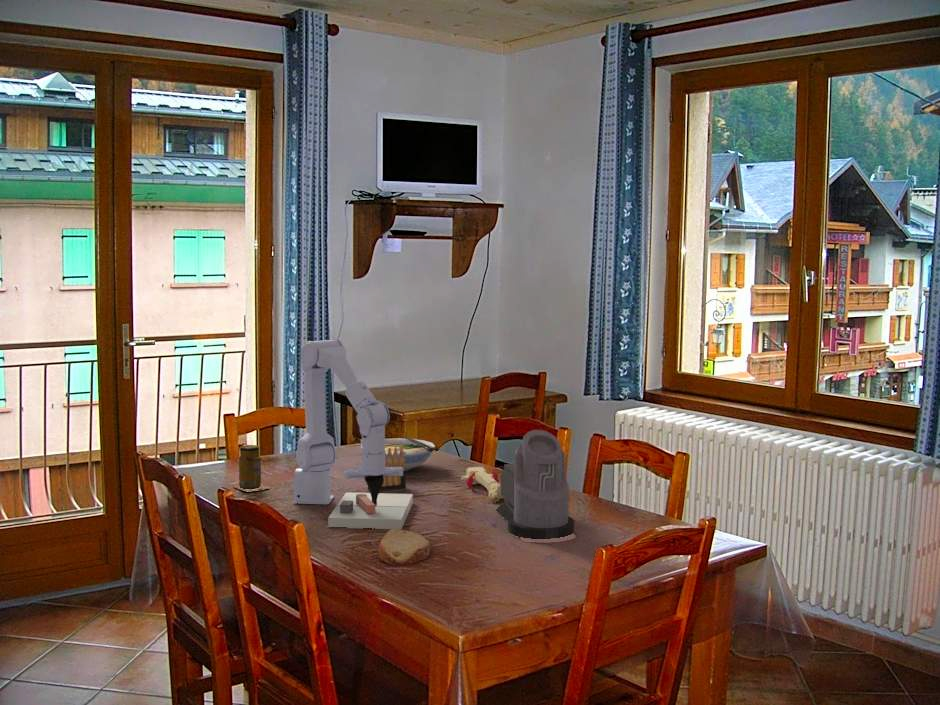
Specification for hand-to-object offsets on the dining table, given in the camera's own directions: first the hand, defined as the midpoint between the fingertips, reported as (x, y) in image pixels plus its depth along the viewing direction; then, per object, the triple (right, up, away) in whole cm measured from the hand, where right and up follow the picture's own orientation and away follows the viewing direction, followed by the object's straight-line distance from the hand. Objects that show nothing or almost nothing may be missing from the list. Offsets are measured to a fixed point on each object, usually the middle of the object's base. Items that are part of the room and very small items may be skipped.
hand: (374, 505), depth 252 cm
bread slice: (+8, -7, -23) cm, 25 cm away
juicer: (+40, -5, -2) cm, 40 cm away
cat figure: (+29, -1, +30) cm, 42 cm away
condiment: (-37, 0, +30) cm, 48 cm away
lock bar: (-2, -1, +2) cm, 3 cm away
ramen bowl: (+2, +2, +55) cm, 55 cm away
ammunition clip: (+1, -1, +31) cm, 31 cm away
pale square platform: (-1, -3, +5) cm, 6 cm away
